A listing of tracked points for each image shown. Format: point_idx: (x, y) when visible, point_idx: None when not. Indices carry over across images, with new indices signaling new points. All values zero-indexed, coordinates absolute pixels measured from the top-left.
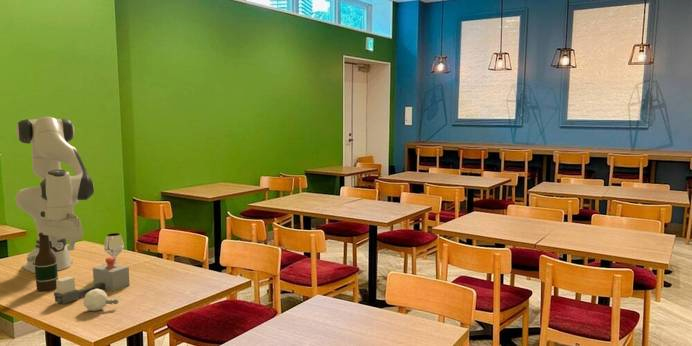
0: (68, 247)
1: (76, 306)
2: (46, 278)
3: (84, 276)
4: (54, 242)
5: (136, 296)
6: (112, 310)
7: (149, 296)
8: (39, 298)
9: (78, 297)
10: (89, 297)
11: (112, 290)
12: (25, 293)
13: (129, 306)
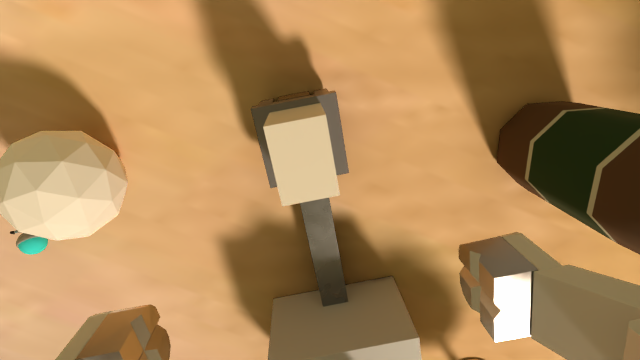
0: (105, 336)
1: (202, 131)
2: (544, 141)
3: None
4: (533, 298)
5: None
6: None
7: None
8: (448, 65)
9: None
10: (7, 155)
11: (277, 299)
12: (576, 49)
13: (42, 267)
